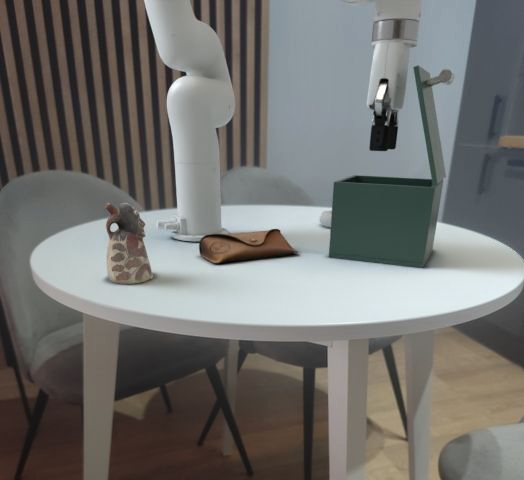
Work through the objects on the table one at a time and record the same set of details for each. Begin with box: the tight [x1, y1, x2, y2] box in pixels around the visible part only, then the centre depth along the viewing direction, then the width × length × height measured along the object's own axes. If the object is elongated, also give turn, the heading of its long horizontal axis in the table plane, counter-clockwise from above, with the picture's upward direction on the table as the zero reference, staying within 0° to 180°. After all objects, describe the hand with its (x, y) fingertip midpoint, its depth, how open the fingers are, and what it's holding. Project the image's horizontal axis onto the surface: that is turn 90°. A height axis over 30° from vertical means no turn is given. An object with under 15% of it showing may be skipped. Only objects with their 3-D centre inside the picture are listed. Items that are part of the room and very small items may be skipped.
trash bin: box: [328, 174, 444, 269], centre depth 96 cm, size 18×15×14 cm
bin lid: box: [412, 65, 455, 185], centre depth 86 cm, size 18×15×5 cm
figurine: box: [104, 202, 154, 285], centre depth 79 cm, size 7×7×12 cm
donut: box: [318, 209, 332, 229], centre depth 124 cm, size 10×4×10 cm
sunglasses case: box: [198, 228, 298, 264], centre depth 96 cm, size 18×7×7 cm
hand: (382, 149), depth 91 cm, fingers open, 6 cm apart
